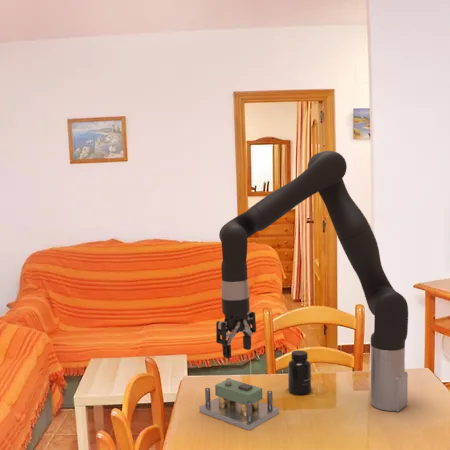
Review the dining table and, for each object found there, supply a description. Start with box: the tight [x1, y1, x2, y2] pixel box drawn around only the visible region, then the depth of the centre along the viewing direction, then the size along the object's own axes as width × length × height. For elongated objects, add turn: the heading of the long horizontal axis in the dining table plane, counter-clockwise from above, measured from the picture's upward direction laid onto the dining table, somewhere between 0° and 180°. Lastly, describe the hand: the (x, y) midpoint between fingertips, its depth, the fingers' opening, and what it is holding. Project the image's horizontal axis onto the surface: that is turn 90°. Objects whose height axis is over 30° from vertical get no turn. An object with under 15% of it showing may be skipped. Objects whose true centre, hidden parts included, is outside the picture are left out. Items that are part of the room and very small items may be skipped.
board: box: [214, 378, 263, 405], centre depth 153 cm, size 12×6×4 cm, turn 50°
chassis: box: [198, 377, 280, 431], centre depth 154 cm, size 18×13×6 cm
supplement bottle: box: [287, 350, 312, 396], centre depth 167 cm, size 7×7×12 cm
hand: (237, 353), depth 152 cm, fingers open, 8 cm apart
